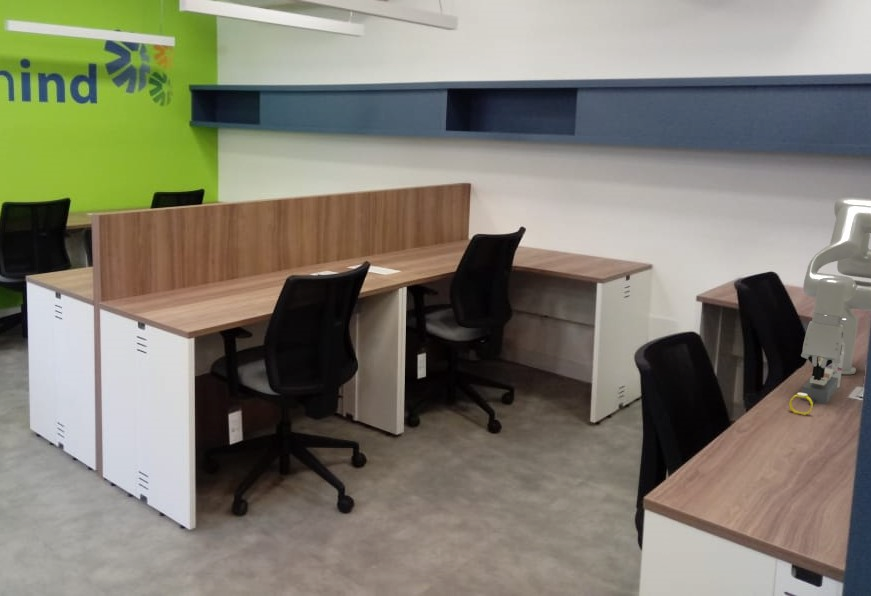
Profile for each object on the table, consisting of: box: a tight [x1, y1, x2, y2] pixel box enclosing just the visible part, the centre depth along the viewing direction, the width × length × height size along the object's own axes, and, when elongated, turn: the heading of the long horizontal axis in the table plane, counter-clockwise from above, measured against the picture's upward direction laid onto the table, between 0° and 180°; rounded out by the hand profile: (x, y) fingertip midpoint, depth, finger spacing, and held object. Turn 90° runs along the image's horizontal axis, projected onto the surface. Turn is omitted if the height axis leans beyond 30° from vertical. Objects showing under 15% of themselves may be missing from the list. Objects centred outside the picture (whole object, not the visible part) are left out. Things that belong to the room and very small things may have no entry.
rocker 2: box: [824, 368, 833, 381], centre depth 247 cm, size 6×4×2 cm
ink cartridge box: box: [819, 343, 845, 389], centre depth 255 cm, size 9×5×15 cm, turn 168°
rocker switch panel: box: [800, 377, 838, 406], centre depth 243 cm, size 22×7×5 cm, turn 145°
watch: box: [788, 392, 814, 416], centre depth 226 cm, size 6×3×6 cm, turn 55°
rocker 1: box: [809, 376, 828, 385], centre depth 240 cm, size 6×4×2 cm
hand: (817, 379), depth 237 cm, fingers closed
